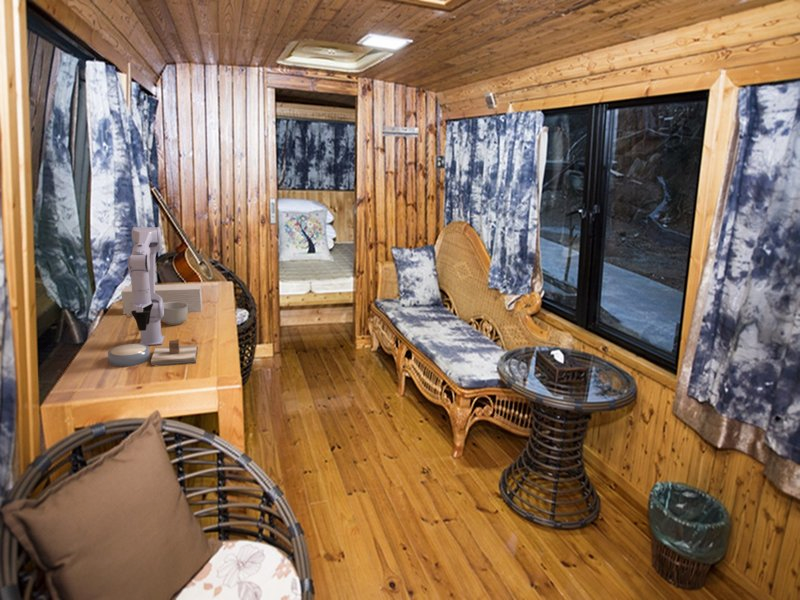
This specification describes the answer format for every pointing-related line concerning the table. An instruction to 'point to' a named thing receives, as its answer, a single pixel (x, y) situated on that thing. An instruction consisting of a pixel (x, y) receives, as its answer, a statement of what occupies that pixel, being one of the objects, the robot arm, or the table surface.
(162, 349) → the lid
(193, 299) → the pale grey long block
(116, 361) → the bowl
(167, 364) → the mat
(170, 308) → the teacup
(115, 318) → the table surface
